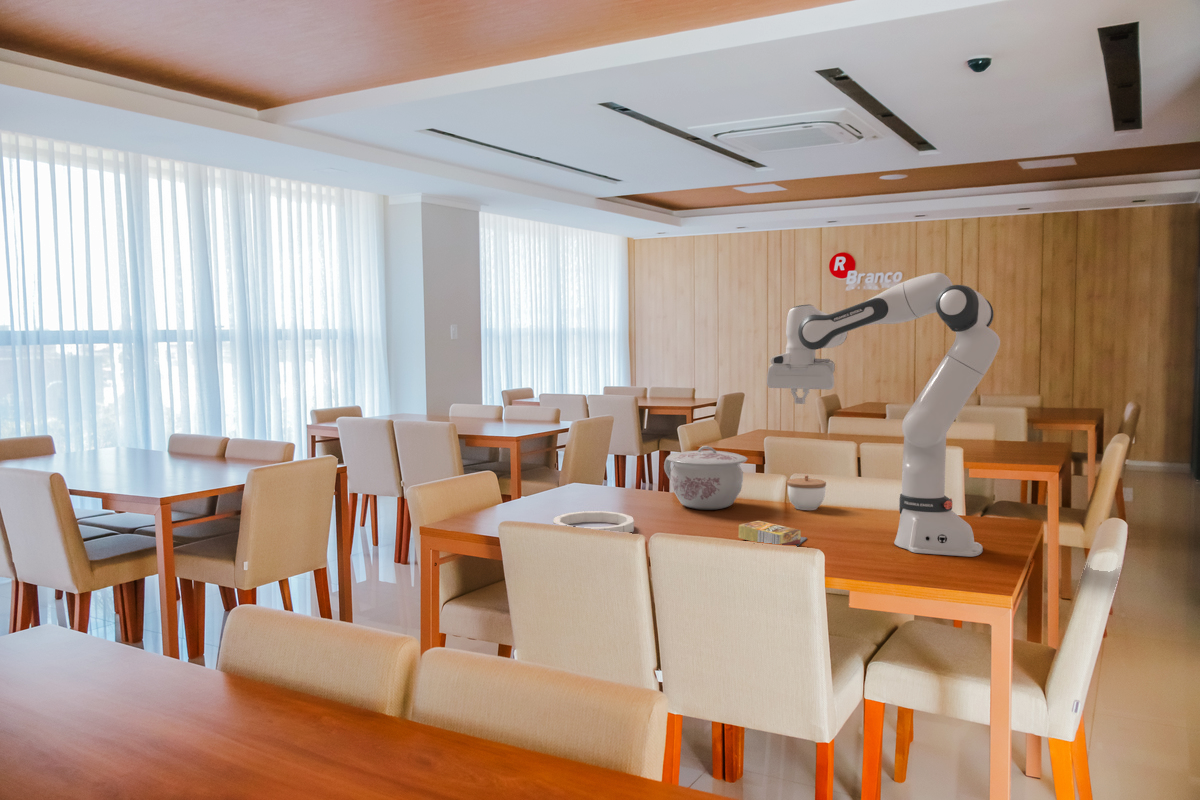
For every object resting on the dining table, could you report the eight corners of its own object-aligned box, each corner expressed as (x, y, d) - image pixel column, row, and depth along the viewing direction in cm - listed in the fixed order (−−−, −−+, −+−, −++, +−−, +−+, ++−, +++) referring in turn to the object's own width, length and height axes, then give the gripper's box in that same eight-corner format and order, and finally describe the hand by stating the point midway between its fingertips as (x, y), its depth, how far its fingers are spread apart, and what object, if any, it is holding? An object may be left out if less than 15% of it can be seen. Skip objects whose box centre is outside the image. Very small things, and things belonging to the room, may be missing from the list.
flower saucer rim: (646, 525, 265) (646, 515, 264) (609, 542, 244) (609, 532, 243) (579, 517, 276) (579, 508, 276) (538, 533, 255) (538, 523, 255)
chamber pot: (758, 513, 282) (758, 450, 280) (676, 516, 278) (676, 452, 276) (733, 496, 309) (733, 439, 307) (658, 499, 305) (658, 441, 304)
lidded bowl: (804, 513, 280) (805, 480, 280) (779, 506, 291) (779, 474, 291) (833, 509, 286) (834, 476, 286) (807, 503, 297) (807, 471, 297)
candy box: (758, 519, 251) (801, 528, 239) (758, 534, 251) (801, 544, 239) (738, 524, 245) (780, 533, 233) (738, 539, 245) (780, 549, 233)
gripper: (837, 358, 261) (836, 404, 262) (771, 357, 270) (771, 401, 272) (832, 359, 255) (831, 405, 256) (765, 358, 265) (764, 403, 266)
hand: (799, 403), depth 264 cm, fingers closed
